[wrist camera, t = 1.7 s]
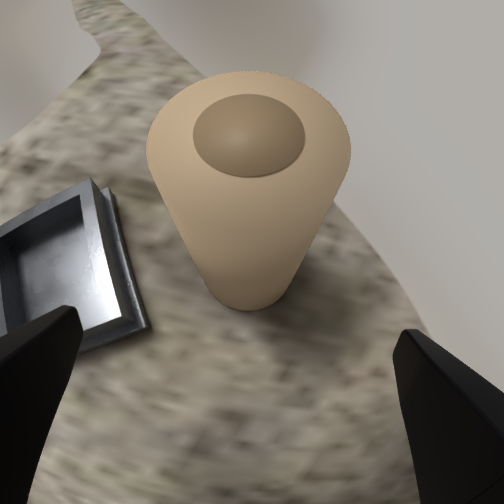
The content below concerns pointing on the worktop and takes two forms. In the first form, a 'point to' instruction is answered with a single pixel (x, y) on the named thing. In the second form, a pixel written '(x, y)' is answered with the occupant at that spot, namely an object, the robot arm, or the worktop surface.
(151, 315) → the worktop surface
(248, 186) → the beige tapered cylinder
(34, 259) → the dock
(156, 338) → the worktop surface
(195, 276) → the worktop surface
